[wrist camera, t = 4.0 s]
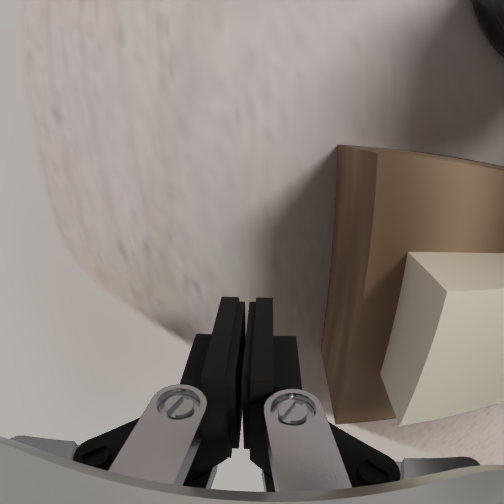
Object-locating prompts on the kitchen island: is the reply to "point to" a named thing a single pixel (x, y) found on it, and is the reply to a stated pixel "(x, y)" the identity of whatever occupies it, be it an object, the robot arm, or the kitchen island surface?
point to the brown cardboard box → (394, 254)
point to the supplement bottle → (492, 20)
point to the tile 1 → (447, 336)
